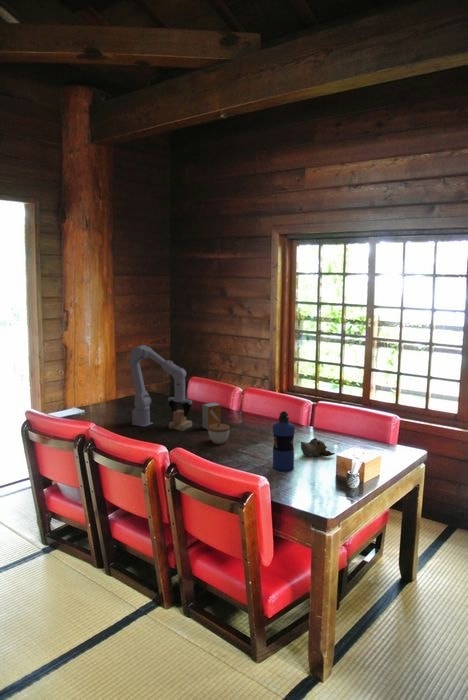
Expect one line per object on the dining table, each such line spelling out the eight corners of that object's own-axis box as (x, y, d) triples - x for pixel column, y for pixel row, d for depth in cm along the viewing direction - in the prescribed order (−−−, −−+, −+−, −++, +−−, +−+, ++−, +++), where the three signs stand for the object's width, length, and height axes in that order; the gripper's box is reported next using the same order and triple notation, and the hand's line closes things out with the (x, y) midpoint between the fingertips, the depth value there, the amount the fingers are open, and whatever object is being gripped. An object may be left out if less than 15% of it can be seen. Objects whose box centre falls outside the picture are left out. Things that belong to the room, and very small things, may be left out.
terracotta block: (173, 422, 287) (173, 411, 286) (178, 420, 291) (178, 409, 290) (180, 423, 284) (180, 412, 283) (186, 421, 289) (186, 410, 288)
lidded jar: (224, 446, 257) (224, 427, 256) (204, 443, 261) (204, 425, 260) (232, 439, 267) (232, 421, 266) (213, 437, 271) (213, 419, 270)
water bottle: (292, 464, 234) (293, 409, 230) (295, 472, 224) (296, 414, 221) (271, 464, 233) (271, 409, 230) (273, 472, 224) (274, 415, 220)
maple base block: (168, 428, 287) (168, 422, 286) (178, 424, 294) (178, 418, 294) (182, 431, 282) (182, 425, 282) (192, 427, 290) (192, 421, 289)
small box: (208, 430, 283) (208, 406, 281) (202, 427, 288) (202, 404, 286) (221, 427, 287) (220, 404, 285) (215, 425, 292) (214, 402, 290)
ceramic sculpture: (297, 434, 247) (327, 434, 250) (296, 452, 248) (325, 452, 251) (305, 442, 236) (336, 441, 240) (303, 460, 238) (334, 460, 241)
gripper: (164, 390, 286) (165, 415, 288) (186, 394, 278) (186, 419, 280) (172, 388, 292) (173, 412, 294) (194, 391, 284) (194, 416, 286)
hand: (180, 415), depth 287 cm, fingers open, 7 cm apart
